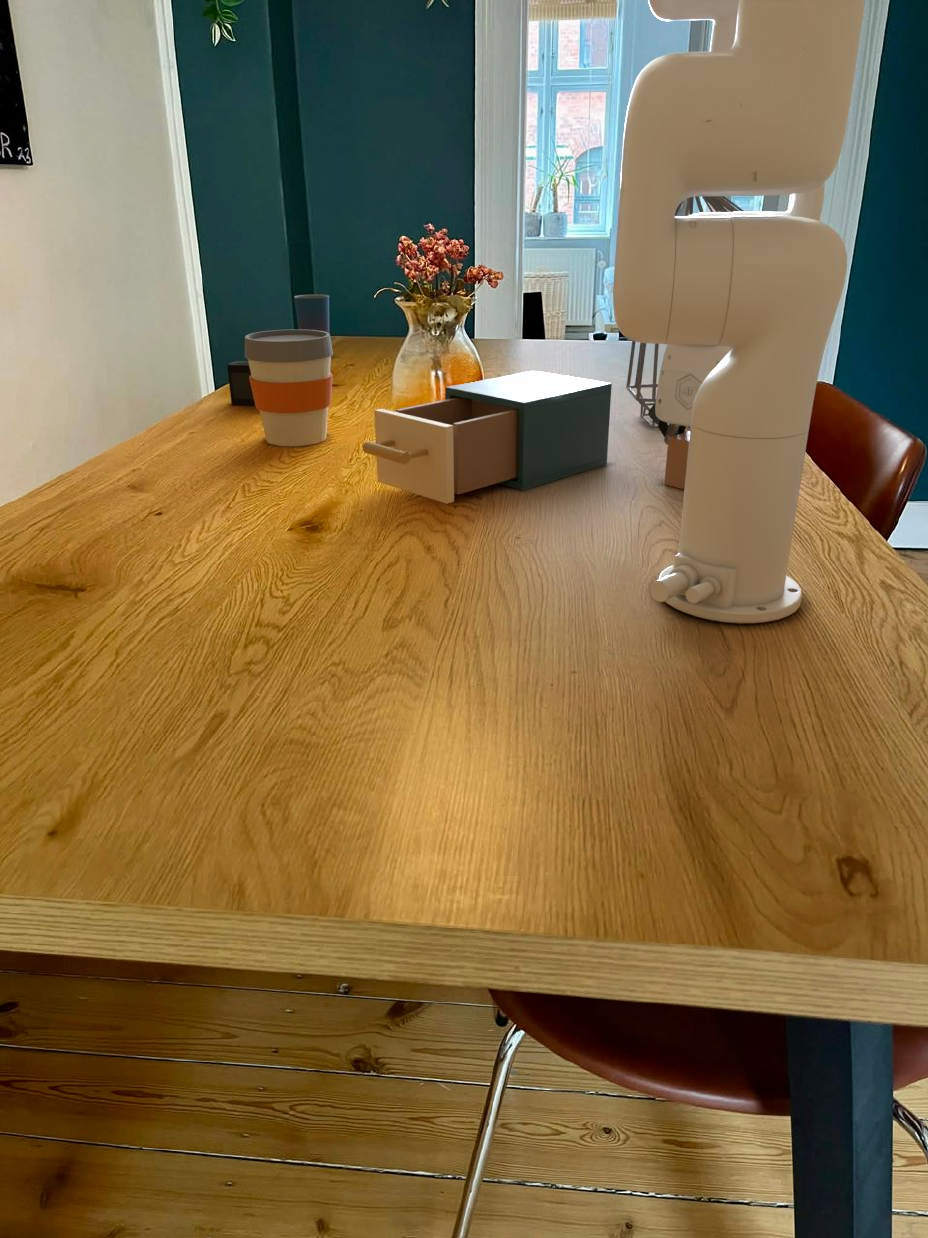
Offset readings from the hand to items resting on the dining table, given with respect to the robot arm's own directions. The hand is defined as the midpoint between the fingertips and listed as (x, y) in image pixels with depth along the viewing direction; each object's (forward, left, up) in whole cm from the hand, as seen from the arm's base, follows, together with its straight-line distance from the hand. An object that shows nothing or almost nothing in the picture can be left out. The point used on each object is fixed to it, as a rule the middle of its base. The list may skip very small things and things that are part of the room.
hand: (693, 477), depth 115 cm
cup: (+12, +97, -1) cm, 98 cm away
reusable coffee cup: (-22, +55, -1) cm, 59 cm away
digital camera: (-12, +80, -1) cm, 81 cm away
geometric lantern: (+26, +21, -1) cm, 33 cm away
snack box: (0, 0, -1) cm, 1 cm away
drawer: (-24, +20, 0) cm, 31 cm away
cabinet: (-9, +20, -1) cm, 22 cm away
